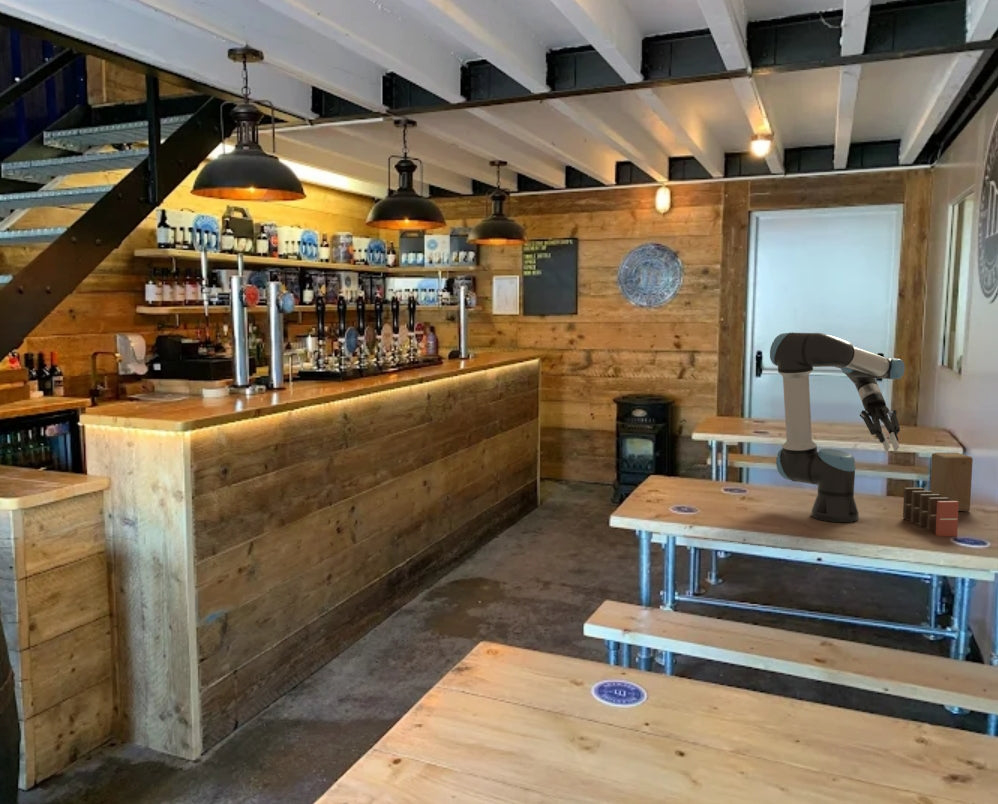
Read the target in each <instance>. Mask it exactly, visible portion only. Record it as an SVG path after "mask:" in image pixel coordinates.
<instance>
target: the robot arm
mask: <svg viewBox="0 0 998 804" xmlns="http://www.w3.org/2000/svg"><path fill="white" fill-rule="evenodd" d="M769 358H770V362H771V363H772V364H773V365H774V366H777V373H779V374H780V375H781V376H782V385H783V403H784V418H785V419H784V420H785V421H784V422H785V438H786V439H785V440H786V441H785V442H784V443H783V444H782V446H781V447H782V448H780V449H779V450H778V452H777V454H776V455H777V456H776V459H775V466H776V470H777V472H778V474H779V475H780V476H781V477H782V478H783V479H785V480H789V481H791V482H796V483H804V484H808V485H810V484H811V485H815V486H817V496H816V498H815V500H814V503H813V505H812V508H811V517H812V516H813V517H812V518H814V519H816V520H819V519H820V521H823V520H824V522H829V521H830V522H831V523H841V522H846V523H854V522H853V521H855V522H857V521H859V519H860V516H859V515H860V514H859V510H858V506H857V503H856V500H855V479H856V477H855V475H856V460H855V457H854V455H853V454H851V453H850V452H848V451H844V450H839V449H836V448H835V449H833V448H821V449H819V451H818V446H817V443H816V442H815V441H813V433H812V416H811V413H812V412H811V394H810V391H811V390H810V379H809V378H810V374H811V373H812V372H813V371H814V368H825V367H828V368H829V367H832V368H833V367H834V368H838V369H840V370H841V371H842V373H843V374H845V376H847V377H848V378H849V380H850V381H852V383H853V384H854V385H855V388H856V391H857V392H858V395H859V398H860V400H861V402H862V403H861V404H862V406H863V408H864V410H861V412H860V413H859V417H861V419H863V421H864V423H865V425H866V427H867V429H868V431H869V433H870V435H873V436H874V435H875V438H877V439H878V440H879V443H882V445H883V446H882V447H883V448H884V450H885V452H888V451H889V450H890V448H891V445H892V448H893V450H894V452H897V451H898V449H899V448H900V445H899V442H898V441H899V437H898V434H899V433H900V431H901V428H900V424H899V421H898V418H897V412H898V411H897V410H896V409H894V410H890V409H889V407H888V406H887V404H886V401H885V398H884V396H883V393H882V391H881V389H880V386H879V384H878V382H877V380H876V379H883V380H900V379H902V378H903V376H904V374H905V369H906V368H905V367H906V366H905V362H904V361H903V360H902V359H900V358H895V357H894V358H893V357H892V358H890V357H889V358H888V357H885V356H881V355H880V354H876V353H873V352H871V351H867V350H865V349H861V348H858V347H856V346H854V345H853V343H851V342H850V341H848V340H845V339H841V338H840V337H837V336H833V335H831V334H830V335H829V334H827V333H821V332H785V333H780V334H778V335H777V336H776V337H775V338H774V339H773V341H772V344H771V345H770V349H769ZM881 423H882V424H883V425H884V427H885V428H886V430H887V432H888V434H889V436H888V437H887V435H886V432H884V431H882V425H881ZM888 438H889V439H888ZM889 441H890V442H889ZM890 443H891V444H890Z"/></svg>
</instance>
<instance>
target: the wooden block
mask: <svg viewBox="0 0 998 804" xmlns="http://www.w3.org/2000/svg"><path fill="white" fill-rule="evenodd" d="M973 459H974V458H973V457H972V456H970V455H967V454H963V453H959V452H933V453H932V454H931V461H930V462H931V464H930V465H931V467H930V485H929V491H932V494H939V495H941V497H947V498H950V501H957V502H959V509H958V511H967V512H969V511H971V499H972V498H971V497H972V495H971V494H972V481H973V480H972V478H973V477H972V476H973Z"/></svg>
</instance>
